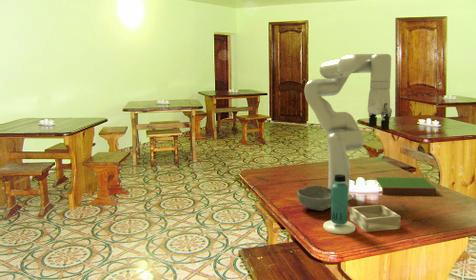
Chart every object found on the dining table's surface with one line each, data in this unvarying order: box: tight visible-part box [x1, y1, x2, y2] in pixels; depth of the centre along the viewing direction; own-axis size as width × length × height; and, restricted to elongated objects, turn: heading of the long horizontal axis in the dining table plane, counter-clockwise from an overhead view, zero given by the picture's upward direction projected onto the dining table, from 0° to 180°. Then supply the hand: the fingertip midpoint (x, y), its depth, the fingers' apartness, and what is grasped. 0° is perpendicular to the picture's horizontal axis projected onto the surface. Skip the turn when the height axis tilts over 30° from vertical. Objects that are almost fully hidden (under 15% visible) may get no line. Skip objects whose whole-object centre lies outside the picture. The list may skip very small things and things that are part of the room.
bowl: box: [296, 184, 332, 212], centre depth 185 cm, size 18×18×8 cm
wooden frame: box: [349, 204, 402, 233], centre depth 167 cm, size 14×14×5 cm
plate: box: [322, 219, 356, 235], centre depth 163 cm, size 12×12×1 cm
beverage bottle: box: [330, 174, 349, 224], centre depth 162 cm, size 6×7×20 cm
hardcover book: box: [374, 177, 437, 196], centre depth 211 cm, size 25×19×4 cm
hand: (378, 128), depth 171 cm, fingers open, 9 cm apart
